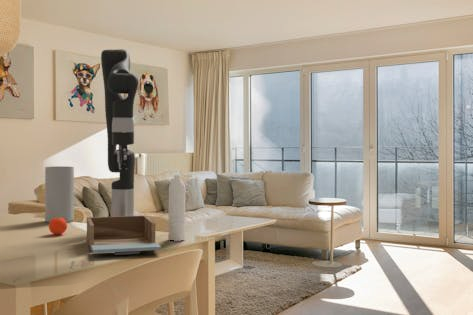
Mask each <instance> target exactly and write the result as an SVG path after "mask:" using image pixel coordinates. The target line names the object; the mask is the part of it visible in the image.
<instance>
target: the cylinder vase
mask: <svg viewBox="0 0 473 315" xmlns="http://www.w3.org/2000/svg"><path fill="white" fill-rule="evenodd" d="M44 172H45V173H44V177H45V179H44V186H45V187H44V190H45V191H44V192H45V193H44V197H45V198H44V202H45V205H44V206H45V207H44V210H45V211H44V216H45V217H44V221H45V222H46V223H48V224H49V223H50V221H51V220H52V219H53V218H56V217H60V218H63V219H64V220H65V221H66V223H70V222H74V219H75V218H74V216H75V214H74V212H75V211H74V209H75V206H74V201H75V199H74V198H75V194H74V193H75V190H74V189H75V186H74V184H75V182H74V181H75V178H74V177H75V168H74V166H62V165H61V166H45V170H44Z"/></svg>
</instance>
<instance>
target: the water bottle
mask: <svg viewBox="0 0 473 315" xmlns="http://www.w3.org/2000/svg"><path fill="white" fill-rule="evenodd" d="M184 176H185V178H192V173H191V174H190V173H186V174H184ZM181 178H182V177H181V174H174V175H173V179H172V181H171V182H170V183H169V186H168V209H167V210H168V223H167V224H168V225H167V226H168V228H167V229H168V230H167V232H168V235H167V239H169V240H168V241H170V240H174V241H173V242H182V241H181V240H184V241H185V240H186V216H187V215H186V194H187V193H186V191H187V190H186V189H187V188H186V185H185V183H184V181H183V180H182V179H181Z"/></svg>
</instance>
